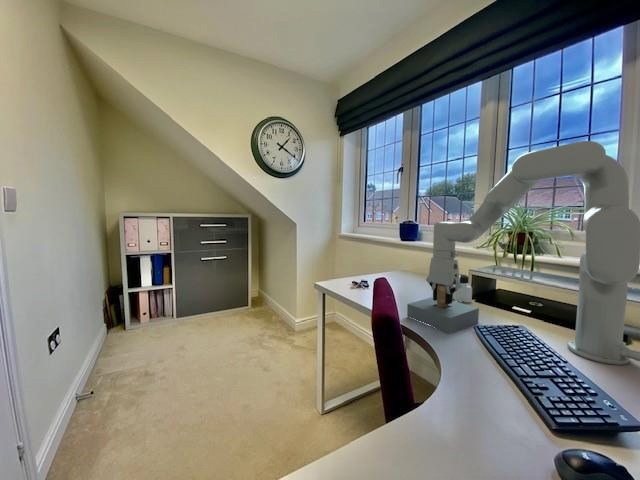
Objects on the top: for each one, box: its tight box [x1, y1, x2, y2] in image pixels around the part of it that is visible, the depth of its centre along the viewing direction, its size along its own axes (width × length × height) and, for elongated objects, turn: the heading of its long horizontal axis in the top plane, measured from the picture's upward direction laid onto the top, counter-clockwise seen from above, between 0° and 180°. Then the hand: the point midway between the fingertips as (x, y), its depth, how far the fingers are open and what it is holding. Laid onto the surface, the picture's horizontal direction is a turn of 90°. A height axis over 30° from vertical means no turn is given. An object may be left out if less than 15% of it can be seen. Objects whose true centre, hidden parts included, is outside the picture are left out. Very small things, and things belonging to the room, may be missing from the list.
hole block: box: [406, 296, 480, 335], centre depth 106 cm, size 18×18×6 cm
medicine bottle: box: [453, 273, 473, 303], centre depth 129 cm, size 7×7×12 cm
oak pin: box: [437, 284, 448, 309], centre depth 105 cm, size 4×4×12 cm
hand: (442, 301), depth 105 cm, fingers open, 4 cm apart
